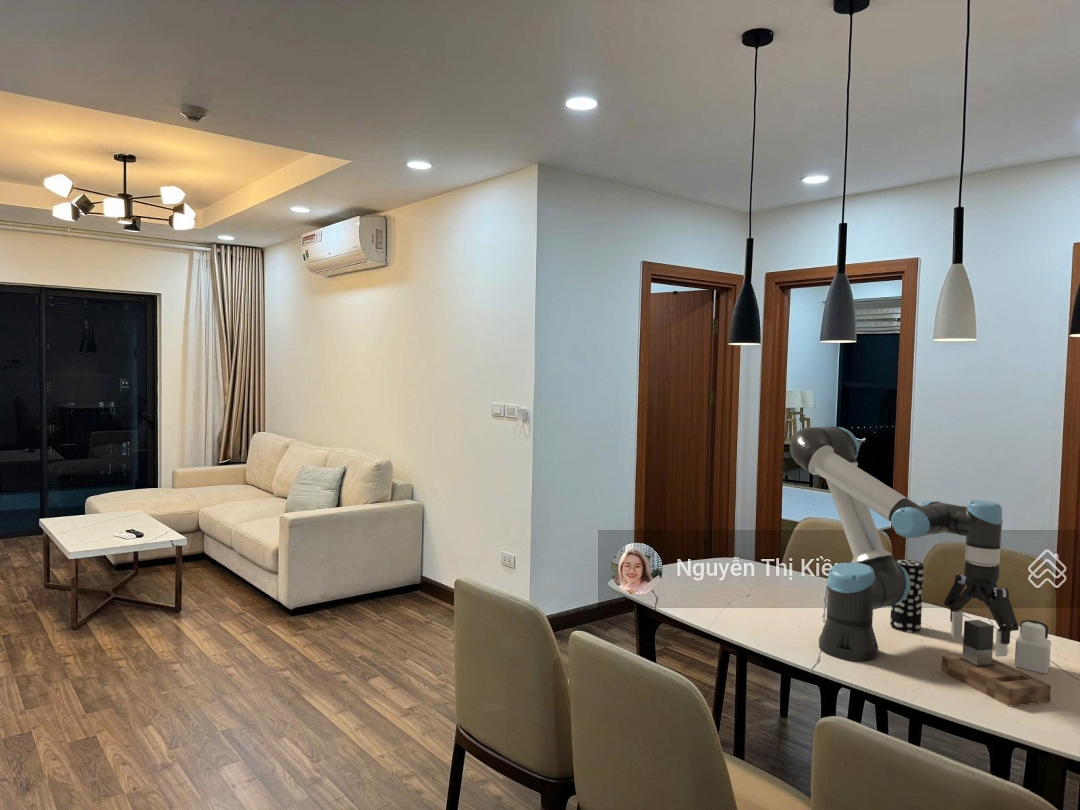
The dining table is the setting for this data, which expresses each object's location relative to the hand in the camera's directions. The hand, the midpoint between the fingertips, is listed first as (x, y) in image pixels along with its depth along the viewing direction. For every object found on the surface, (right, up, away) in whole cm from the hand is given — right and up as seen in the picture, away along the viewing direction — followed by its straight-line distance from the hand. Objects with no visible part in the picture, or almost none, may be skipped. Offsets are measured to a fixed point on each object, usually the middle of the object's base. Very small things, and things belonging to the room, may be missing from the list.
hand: (977, 645), depth 182 cm
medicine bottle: (+19, -9, +8) cm, 23 cm away
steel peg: (0, -8, 0) cm, 8 cm away
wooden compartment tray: (+1, -8, -5) cm, 10 cm away
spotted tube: (0, -7, +36) cm, 37 cm away
